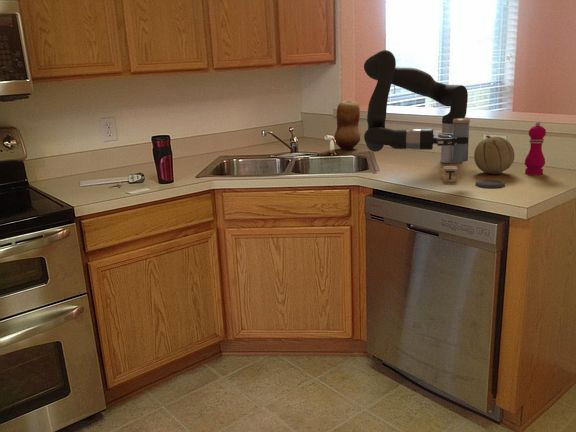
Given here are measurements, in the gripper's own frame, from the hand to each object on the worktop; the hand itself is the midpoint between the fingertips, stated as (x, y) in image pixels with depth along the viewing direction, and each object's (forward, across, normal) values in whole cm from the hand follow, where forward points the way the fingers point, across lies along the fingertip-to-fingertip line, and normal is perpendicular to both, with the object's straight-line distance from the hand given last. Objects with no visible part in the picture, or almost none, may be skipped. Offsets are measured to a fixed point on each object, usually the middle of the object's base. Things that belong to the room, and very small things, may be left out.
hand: (468, 139), depth 191 cm
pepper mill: (+25, +22, +17) cm, 38 cm away
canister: (-3, 0, +8) cm, 8 cm away
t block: (-6, +8, +17) cm, 20 cm away
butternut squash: (-59, +77, +18) cm, 98 cm away
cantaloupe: (+10, +21, +17) cm, 29 cm away
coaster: (+8, +1, +17) cm, 19 cm away
